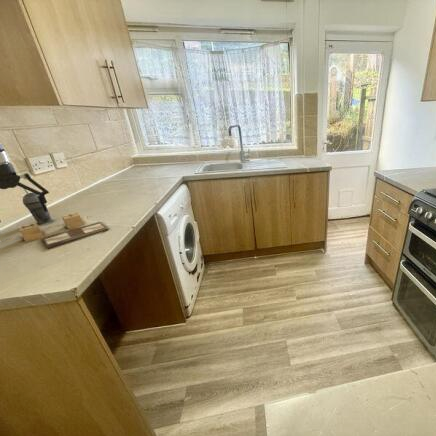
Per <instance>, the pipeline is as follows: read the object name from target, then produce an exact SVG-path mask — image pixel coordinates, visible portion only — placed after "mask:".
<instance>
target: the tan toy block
mask: <svg viewBox="0 0 436 436" xmlns="http://www.w3.org/2000/svg"><path fill="white" fill-rule="evenodd" d="M17 228H18V230H19V232H20V234H21V236H22V238H23V240H24V242H25V243H28V242H32V241H35V240H39V239H42V238H44V235H43V232H42V230H41V229H40V226H39V224H38V223H37V222H32V223H28V224H23V225H20V226H18V227H17Z"/></svg>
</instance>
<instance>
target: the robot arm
mask: <svg viewBox="0 0 436 436" xmlns="http://www.w3.org/2000/svg"><path fill="white" fill-rule="evenodd" d="M21 179H23V180H27V181H28V182H29V183H31V184H32V185H34V186H35V187H36V188H38V189H39V190H40V191H39V190H37V189H35V188H33V187H30V186H28V185H26V184H25V183H22V182H20V180H21ZM17 187H19V188H22V189H23V188H24V189H26V190H27V192H28V191H29V192H30V193H35V194H37V195H40V196H37V197H38V199H39V201H40V203H41V205H42V207H43V209H44V211H45V212H47V209H48V208H47V209H46V207H45V205H44V203H46V204H47V203H48V200H47V199H46V195H47V194H50V191H49V190H47V189H46V188H45V187H43V186H42V185H41V184H39V183H38V182H37V181H36V180H34V179H33V178H32V177H31V175H30V174H29V173H28V172H25V173H23V174H18V173H17V172H16V170H15V167H14V165H13V164H12V163H11V159H10V157H9V155H8V153H7V152H6V150H5V148H4V146H3V144H2V142H1V141H0V190H7V189H14V188H17ZM24 189H23V190H24ZM0 223H2V221H1V220H0Z"/></svg>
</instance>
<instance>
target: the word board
mask: <svg viewBox="0 0 436 436" xmlns="http://www.w3.org/2000/svg"><path fill="white" fill-rule="evenodd" d="M108 231H109V229H108V227H107V226H105V225H104V224H103V223H102V222H100V221H98V222H95V223H91V224H87V225H83V226H79V227H76V228H72V229H69V230H66V231H62V232H60V233H56V234H52V235H48V236H45V237H42V238H41V239H42V241H43V243H44V244H45V246H46V247H47V249H48V250H51V249H55V248H57V247H60V246H63V245H66V244H69V243H73V242H76V241H79V240H82V239H85V238H87V237H91V236H94V235H97V234H100V233H104V232H108Z"/></svg>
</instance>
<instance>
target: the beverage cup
mask: <svg viewBox="0 0 436 436" xmlns="http://www.w3.org/2000/svg"><path fill="white" fill-rule="evenodd" d="M22 189H23V190H24V192H25V193H26V194H25V195H24V196H23V197H22V204H23V205H24V206H25V207H26V209H28V211H29V213H30V214H31V216H32V217H33V219H34V220H35V222H36V223H37V225H42V224H43V225H44V224H47V223H50V222H51V221H52V217H51V214H50V212H49V209H48V205H47V203H44V205H45V207H46V209H47V212H45V211H44V209H43V207H42V205H41V203H40V201H39V199H38V197H37V196H40V195H37V194H35V193H33V192H28V190H26V189H24V188H22Z"/></svg>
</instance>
